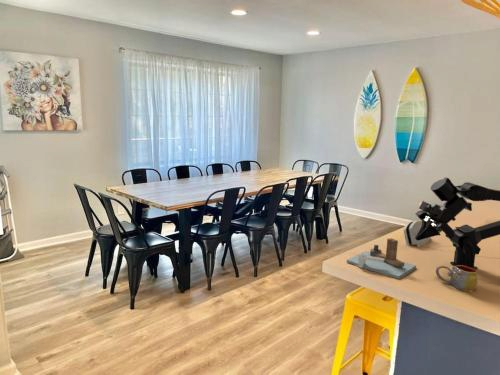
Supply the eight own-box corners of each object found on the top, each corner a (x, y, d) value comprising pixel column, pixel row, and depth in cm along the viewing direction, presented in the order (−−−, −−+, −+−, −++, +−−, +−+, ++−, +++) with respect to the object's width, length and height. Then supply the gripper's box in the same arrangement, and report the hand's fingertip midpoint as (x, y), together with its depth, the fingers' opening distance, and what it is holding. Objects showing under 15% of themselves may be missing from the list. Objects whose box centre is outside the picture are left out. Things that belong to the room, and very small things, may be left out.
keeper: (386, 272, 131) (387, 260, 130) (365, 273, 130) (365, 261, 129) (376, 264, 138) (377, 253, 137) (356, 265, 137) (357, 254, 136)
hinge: (418, 247, 157) (412, 224, 157) (407, 248, 160) (401, 226, 160) (431, 238, 169) (425, 217, 169) (420, 240, 172) (415, 218, 172)
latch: (367, 254, 144) (369, 233, 142) (375, 252, 146) (377, 231, 144) (397, 267, 131) (399, 244, 129) (405, 266, 133) (407, 243, 131)
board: (415, 268, 135) (416, 265, 135) (398, 279, 125) (398, 276, 125) (365, 253, 149) (365, 251, 149) (346, 262, 139) (346, 259, 139)
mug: (478, 287, 120) (480, 267, 119) (474, 294, 115) (476, 274, 114) (437, 277, 128) (440, 258, 127) (432, 283, 123) (434, 264, 121)
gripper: (423, 189, 141) (391, 217, 143) (449, 200, 123) (413, 231, 125) (441, 209, 143) (410, 237, 145) (470, 223, 125) (434, 254, 126)
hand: (416, 239), depth 135 cm, fingers closed
